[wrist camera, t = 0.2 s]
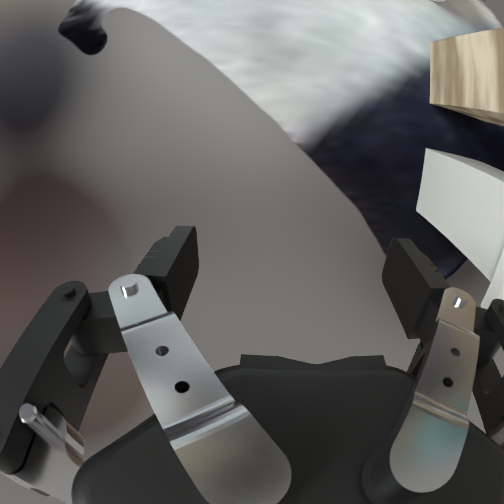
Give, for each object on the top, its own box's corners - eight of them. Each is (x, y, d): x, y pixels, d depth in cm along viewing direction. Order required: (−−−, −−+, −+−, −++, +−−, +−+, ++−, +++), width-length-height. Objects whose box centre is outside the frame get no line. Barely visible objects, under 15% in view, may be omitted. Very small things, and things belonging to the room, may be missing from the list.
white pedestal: (398, 215, 40) (487, 315, 19) (410, 138, 34) (532, 189, 13) (478, 222, 39) (563, 301, 18) (491, 158, 34) (594, 214, 13)
